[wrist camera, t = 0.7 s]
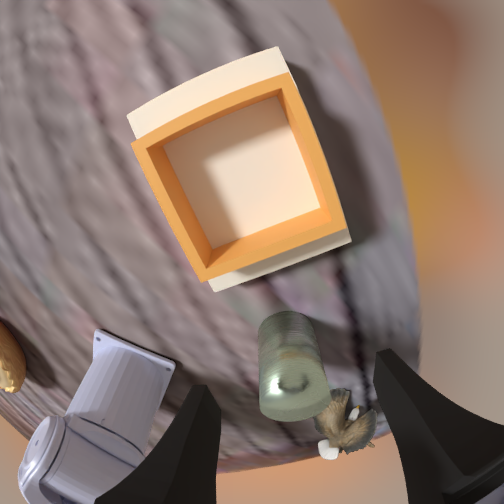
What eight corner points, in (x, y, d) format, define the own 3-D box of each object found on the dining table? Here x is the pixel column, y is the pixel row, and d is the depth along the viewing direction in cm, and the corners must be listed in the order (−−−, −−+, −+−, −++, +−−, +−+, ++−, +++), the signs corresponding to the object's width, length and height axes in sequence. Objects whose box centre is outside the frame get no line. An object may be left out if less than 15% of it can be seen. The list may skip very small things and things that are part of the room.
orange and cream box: (342, 230, 18) (366, 259, 14) (217, 277, 19) (209, 316, 15) (274, 56, 13) (282, 30, 9) (139, 116, 15) (105, 113, 10)
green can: (295, 357, 22) (306, 425, 16) (248, 343, 22) (247, 414, 15) (323, 321, 21) (345, 390, 14) (273, 303, 20) (281, 376, 14)
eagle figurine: (384, 418, 26) (389, 392, 21) (365, 469, 22) (366, 460, 17) (329, 407, 30) (318, 380, 26) (307, 454, 26) (290, 440, 21)
